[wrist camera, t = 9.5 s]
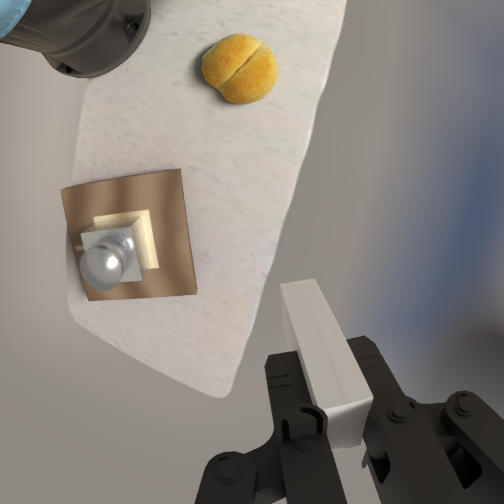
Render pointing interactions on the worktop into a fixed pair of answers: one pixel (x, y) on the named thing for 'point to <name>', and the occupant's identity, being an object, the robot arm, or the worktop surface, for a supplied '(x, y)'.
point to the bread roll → (240, 68)
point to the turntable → (155, 227)
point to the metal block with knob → (114, 253)
